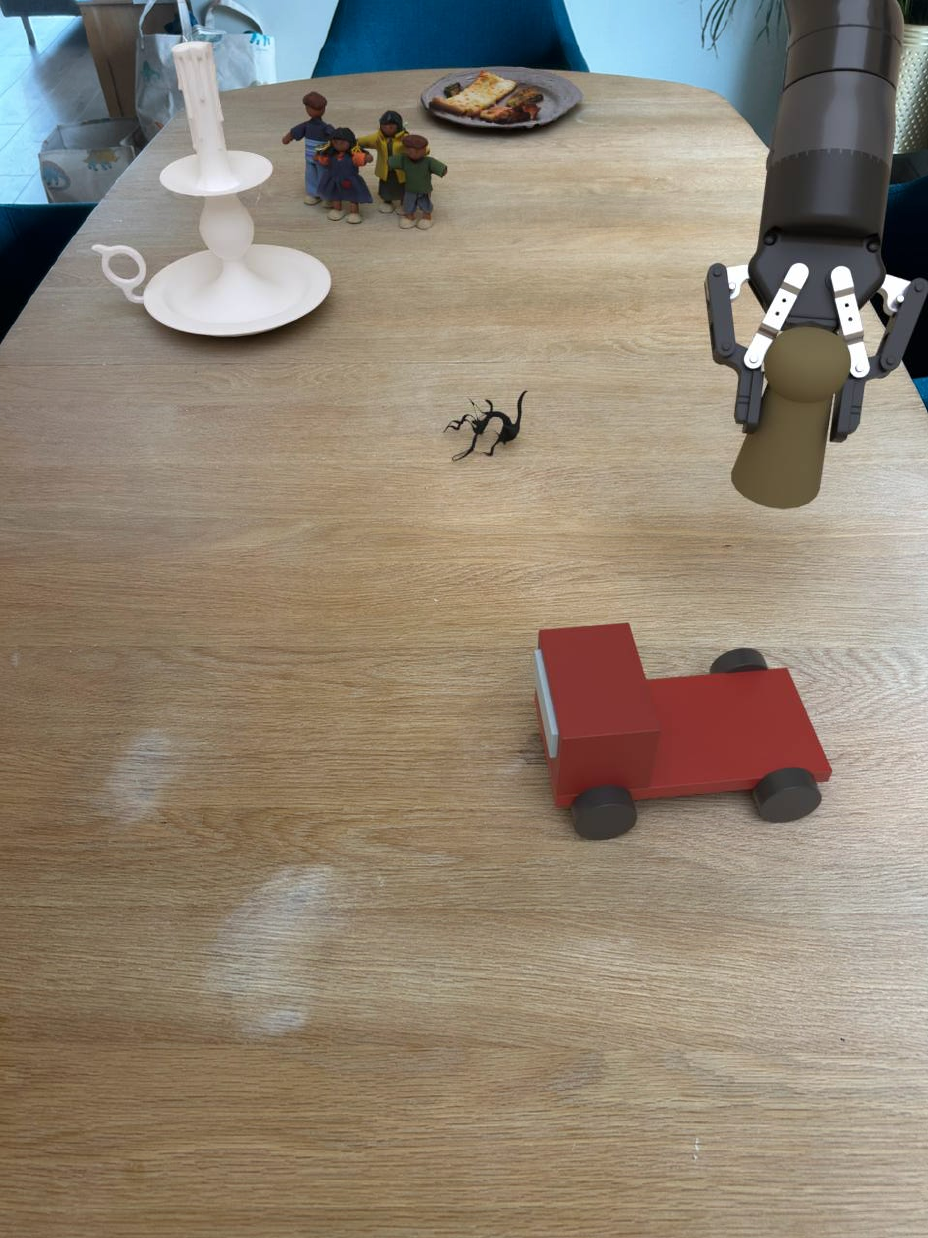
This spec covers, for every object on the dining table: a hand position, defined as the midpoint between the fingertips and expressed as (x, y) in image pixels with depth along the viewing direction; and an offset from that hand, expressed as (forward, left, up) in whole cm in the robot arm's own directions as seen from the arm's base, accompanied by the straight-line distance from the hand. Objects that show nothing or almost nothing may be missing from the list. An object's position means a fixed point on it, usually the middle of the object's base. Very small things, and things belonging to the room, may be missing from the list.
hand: (794, 435), depth 64 cm
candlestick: (+43, -55, -19) cm, 72 cm away
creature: (+17, -27, -19) cm, 37 cm away
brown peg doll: (0, -2, -5) cm, 6 cm away
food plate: (+4, -114, -19) cm, 116 cm away
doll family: (+26, -80, -19) cm, 86 cm away
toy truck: (+8, +11, -18) cm, 23 cm away
